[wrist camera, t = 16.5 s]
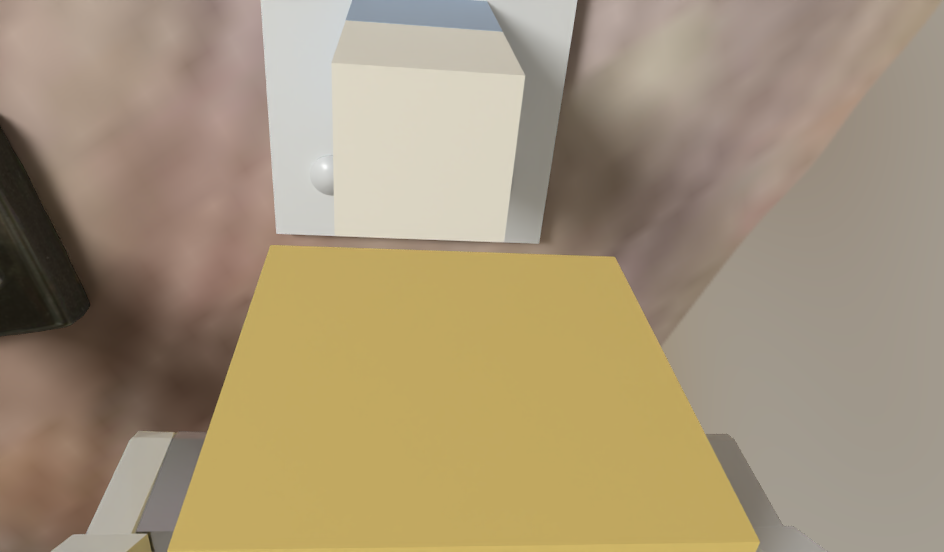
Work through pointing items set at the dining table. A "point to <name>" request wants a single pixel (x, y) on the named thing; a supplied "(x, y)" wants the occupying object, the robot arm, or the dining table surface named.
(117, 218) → the dining table surface
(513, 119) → the block
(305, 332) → the block
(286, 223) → the build plate
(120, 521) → the robot arm
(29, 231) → the figurine
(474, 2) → the block
